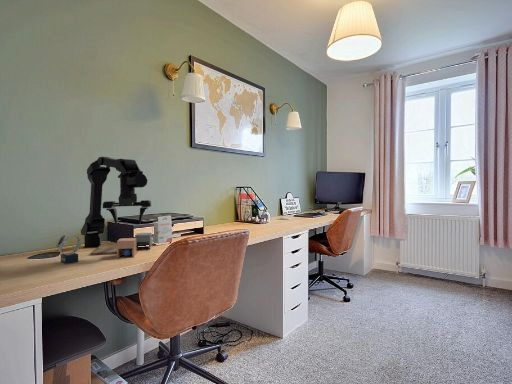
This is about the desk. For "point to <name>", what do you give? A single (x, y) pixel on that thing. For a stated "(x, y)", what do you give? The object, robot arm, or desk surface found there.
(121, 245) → the tan open box
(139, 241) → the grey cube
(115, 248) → the walnut mat
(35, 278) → the desk surface
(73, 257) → the watch
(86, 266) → the desk surface
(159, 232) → the ink cartridge box
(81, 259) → the desk surface
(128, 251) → the blue marble
